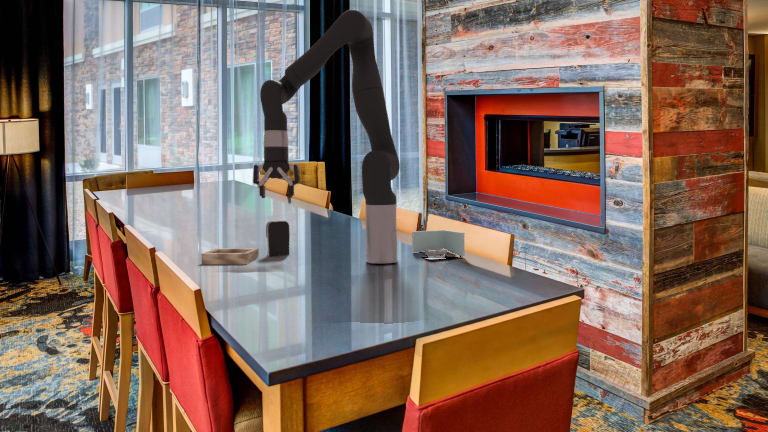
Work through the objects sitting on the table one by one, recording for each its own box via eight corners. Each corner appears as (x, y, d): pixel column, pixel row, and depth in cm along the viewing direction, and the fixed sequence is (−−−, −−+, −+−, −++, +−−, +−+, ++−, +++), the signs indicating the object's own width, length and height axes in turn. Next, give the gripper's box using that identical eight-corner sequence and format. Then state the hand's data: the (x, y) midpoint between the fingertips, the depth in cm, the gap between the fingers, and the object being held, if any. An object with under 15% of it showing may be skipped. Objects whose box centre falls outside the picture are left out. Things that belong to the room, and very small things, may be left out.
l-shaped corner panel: (412, 255, 197) (412, 231, 196) (445, 252, 202) (445, 229, 201) (430, 259, 186) (430, 234, 185) (464, 257, 191) (464, 232, 190)
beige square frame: (258, 258, 191) (258, 248, 191) (247, 264, 178) (247, 253, 178) (216, 258, 192) (215, 248, 192) (201, 264, 179) (201, 253, 178)
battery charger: (286, 255, 198) (285, 219, 197) (290, 256, 194) (289, 220, 194) (265, 256, 195) (264, 220, 194) (268, 258, 191) (268, 221, 191)
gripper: (300, 146, 196) (301, 197, 197) (256, 146, 196) (257, 197, 198) (296, 145, 188) (297, 198, 189) (250, 145, 189) (251, 198, 190)
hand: (276, 197), depth 193 cm, fingers open, 8 cm apart
